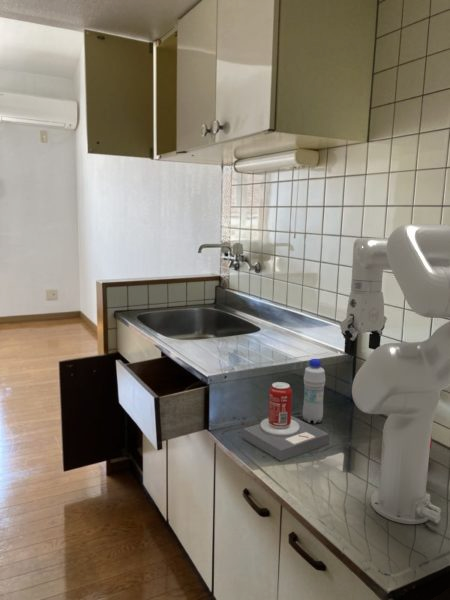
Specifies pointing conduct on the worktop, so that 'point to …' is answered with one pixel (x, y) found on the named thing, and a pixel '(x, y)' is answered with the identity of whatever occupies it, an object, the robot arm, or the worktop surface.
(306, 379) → the bottle
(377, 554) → the worktop surface
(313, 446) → the scale
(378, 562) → the worktop surface
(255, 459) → the worktop surface
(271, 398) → the beverage can
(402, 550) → the worktop surface
